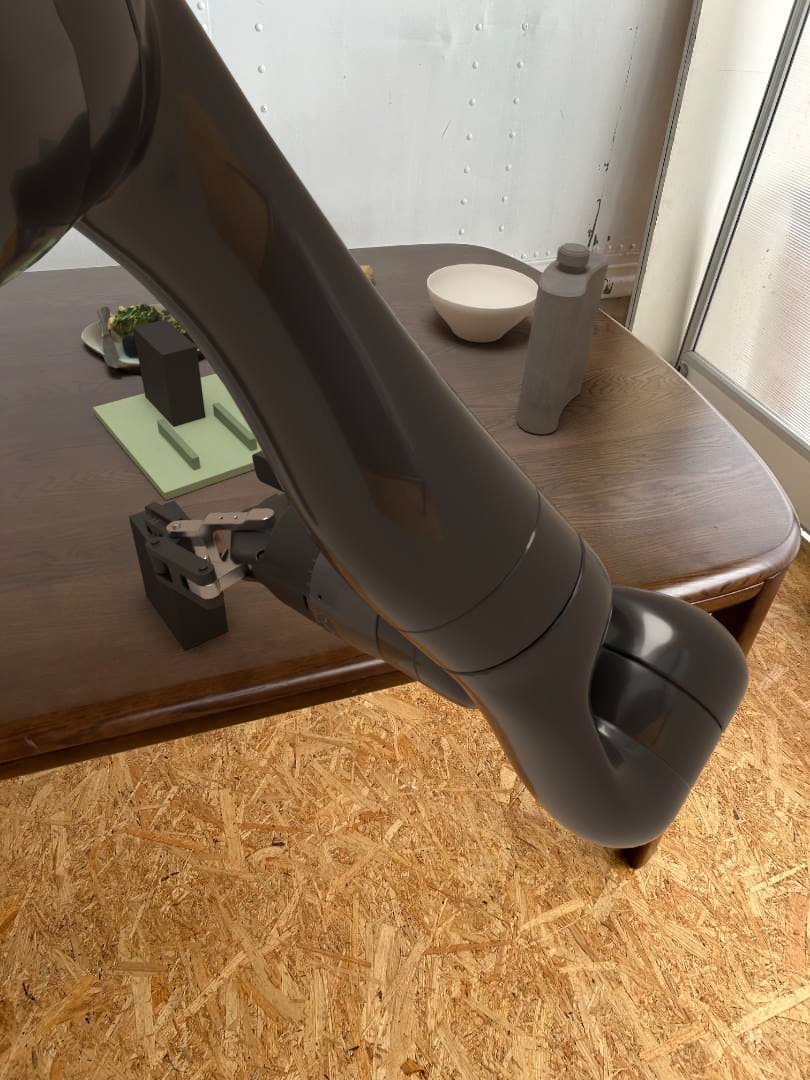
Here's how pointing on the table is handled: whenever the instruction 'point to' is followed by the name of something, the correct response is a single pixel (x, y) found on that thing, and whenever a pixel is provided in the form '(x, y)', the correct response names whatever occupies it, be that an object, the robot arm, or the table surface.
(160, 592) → the tall dark upright box
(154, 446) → the dock mat
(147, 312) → the salad plate
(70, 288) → the table surface
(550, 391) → the flask
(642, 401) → the table surface
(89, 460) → the table surface
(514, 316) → the bowl
